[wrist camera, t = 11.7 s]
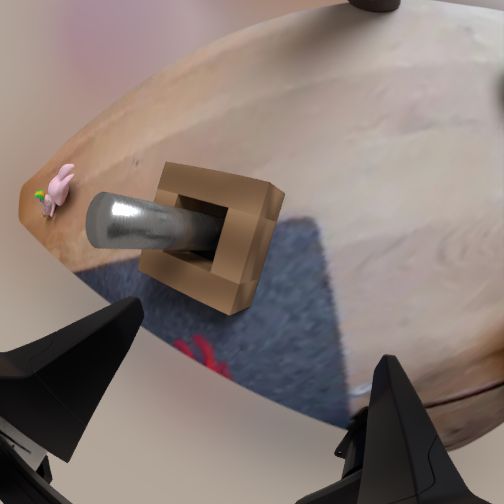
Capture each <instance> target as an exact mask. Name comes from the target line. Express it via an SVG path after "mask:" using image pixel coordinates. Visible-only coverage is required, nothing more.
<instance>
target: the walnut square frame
mask: <svg viewBox="0 0 504 504" xmlns="http://www.w3.org/2000/svg"><path fill="white" fill-rule="evenodd" d="M284 196H285V193H284V192H282V191H281V190H279V189H278V188H277V187H275V186H274V185H273V184H271V183H270V182H266V181H262V180H258V179H253V178H249V177H244V176H240V175H235V174H230V173H225V172H220V171H215V170H210V169H205V168H199V167H194V166H188V165H182V164H176V163H170V162H165V166H164V169H163V172H162V175H161V178H160V182H159V185H158V189H157V192H156V196H155V199H154V203H159V204H163V205H168V206H172V207H177V208H181V209H185V210H190V211H194V212H198V213H200V212H201V209H202V206H203V202H207V203H211V204H215V205H218V206H222V207H225V208H228V212H227V215H226V219H225V222H224V225H223V229H222V232H221V236H220V239H219V243H218V246H217V250H216V253H215V257H214V261H211V260H208V259H206V258H203V257H201V256H198V255H196V254H193V253H191V252H190V250H152V249H142V251H141V256H140V261H139V265H138V270H140V271H141V272H143V273H145V274H147V275H149V276H151V277H153V278H154V279H156V280H158V281H160V282H162V283H164V284H166V285H168V286H170V287H172V288H174V289H176V290H178V291H180V292H182V293H184V294H186V295H188V296H190V297H192V298H194V299H196V300H198V301H200V302H202V303H204V304H206V305H208V306H210V307H212V308H215V309H217V310H219V311H221V312H223V313H225V314H227V315H232V314H234V313H237V312H239V311H241V310H243V309H246V308H248V307H250V306H251V304H252V301H253V297H254V294H255V291H256V288H257V285H258V281H259V278H260V275H261V272H262V269H263V265H264V262H265V259H266V255H267V252H268V249H269V246H270V242H271V239H272V236H273V232H274V229H275V226H276V223H277V219H278V216H279V213H280V209H281V206H282V202H283V199H284Z"/></svg>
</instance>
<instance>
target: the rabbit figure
mask: <svg viewBox="0 0 504 504" xmlns="http://www.w3.org/2000/svg"><path fill="white" fill-rule="evenodd" d="M73 168H74V165H73V164H65V165H64V166H63V167H62V168H61V169H60V171H59V174H58V176H56V177H55V178H54V179H53V180H52V181H51V182H50V184H49V188H48V193H49V194H47V195H45V193H44V192H43V191H42V190H41V191H38V192H36V193H35V195H34V197H37V198H39V200H40V201H41V202H42V204H43V210H44V212H43V213H42V215H43V217H45V218H47V217H49V216H48V215H50V216H51V217H53V213H54V210H55V206H56V204H57V205H58V206H61V205H62V204H63V203H64V201H65V198H66V196H67V194H68V192H69V183H68V182H69V181H70V180H71V179H72V178H73V176H74V174H71V175H69V176H67V174H68V173H69V172H70V171H71V170H72V169H73ZM66 176H67V177H66ZM41 217H42V216H41Z"/></svg>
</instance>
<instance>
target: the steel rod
mask: <svg viewBox="0 0 504 504" xmlns="http://www.w3.org/2000/svg"><path fill="white" fill-rule="evenodd" d="M224 222H225V219H223V218H219V217H215V216H211V215H207V214H202V213H198V212H194V211H190V210H185V209H181V208H177V207H172V206H168V205H163V204H159V203H154V202H150V201H145V200H141V199H136V198H132V197H127V196H122V195H118V194H113V193H108V192H101V193H99V194H97V195H96V196H95V197H94V198H93V200H92V201H91V203H90V205H89V208H88V211H87V215H86V234H87V237H88V240H89V242H90V243H91V245H92V246H94V247H95V248H106V249H152V250H198V251H216V250H217V246H218V243H219V239H220V236H221V232H222V229H223V225H224Z"/></svg>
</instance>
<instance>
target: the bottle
mask: <svg viewBox="0 0 504 504" xmlns="http://www.w3.org/2000/svg"><path fill="white" fill-rule="evenodd" d="M348 1H349V2H350V3H351V4H353V5H355V6H357V7H359V8H362V9H365V10H369V11H375V12H385V11H391V10H394V9H396V8H397V7H398V6H399V5H400V0H348Z"/></svg>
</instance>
